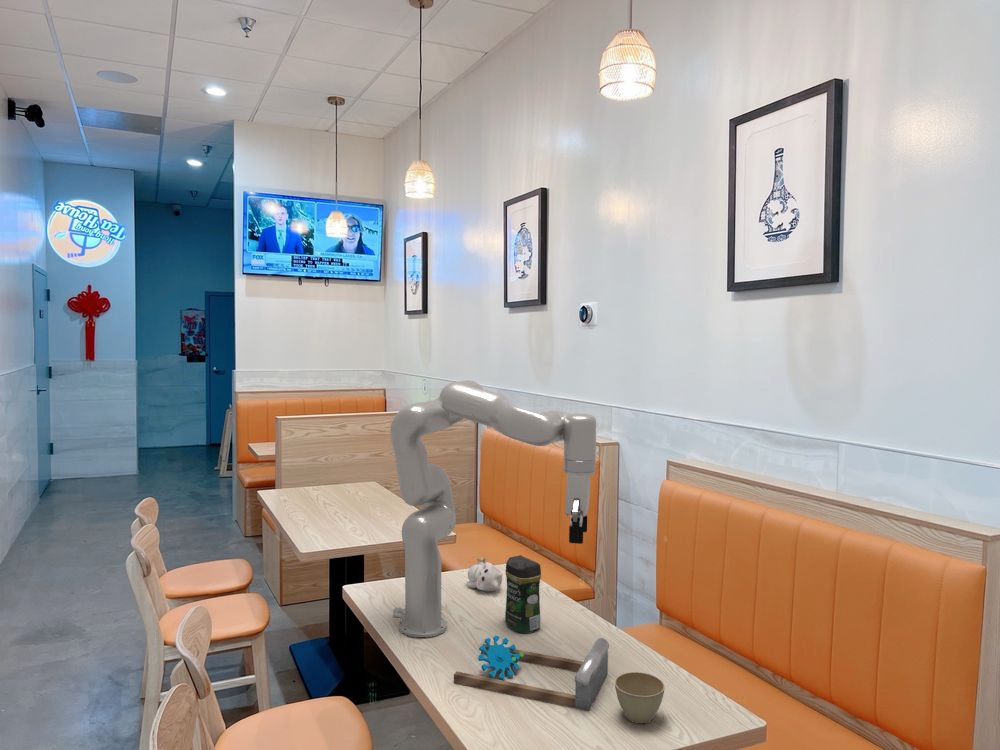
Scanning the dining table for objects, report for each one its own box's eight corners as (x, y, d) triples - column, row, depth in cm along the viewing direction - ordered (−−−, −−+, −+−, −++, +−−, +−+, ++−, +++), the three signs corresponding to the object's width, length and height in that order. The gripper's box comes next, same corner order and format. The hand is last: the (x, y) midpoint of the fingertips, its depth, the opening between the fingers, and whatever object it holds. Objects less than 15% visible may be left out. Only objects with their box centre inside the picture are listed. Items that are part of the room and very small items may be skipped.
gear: (482, 678, 156) (477, 633, 163) (474, 687, 160) (469, 644, 167) (528, 677, 160) (521, 634, 166) (519, 687, 164) (513, 644, 170)
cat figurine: (468, 552, 221) (496, 559, 209) (486, 562, 225) (515, 569, 213) (456, 582, 218) (484, 590, 206) (475, 591, 222) (504, 599, 210)
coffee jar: (500, 624, 189) (500, 556, 188) (523, 617, 194) (524, 551, 193) (521, 636, 181) (521, 566, 180) (545, 629, 186) (546, 560, 185)
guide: (453, 683, 157) (453, 674, 157) (483, 651, 173) (483, 643, 173) (575, 708, 147) (575, 698, 147) (594, 672, 163) (594, 663, 162)
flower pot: (609, 705, 148) (609, 672, 148) (655, 703, 149) (656, 670, 148) (621, 732, 138) (621, 696, 138) (670, 730, 139) (671, 694, 138)
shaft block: (574, 709, 146) (574, 671, 146) (594, 671, 163) (595, 637, 163) (589, 712, 145) (589, 674, 145) (608, 673, 162) (609, 639, 161)
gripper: (568, 459, 176) (567, 526, 177) (558, 472, 159) (557, 546, 160) (598, 460, 174) (597, 528, 175) (592, 473, 157) (590, 549, 158)
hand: (578, 537), depth 168 cm, fingers open, 9 cm apart
